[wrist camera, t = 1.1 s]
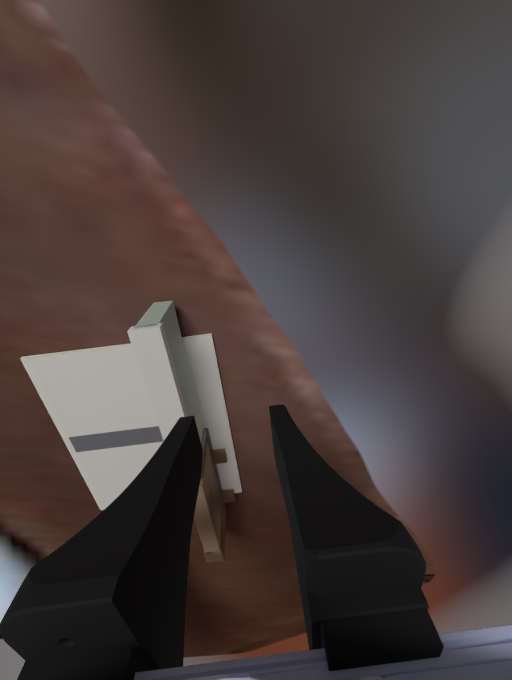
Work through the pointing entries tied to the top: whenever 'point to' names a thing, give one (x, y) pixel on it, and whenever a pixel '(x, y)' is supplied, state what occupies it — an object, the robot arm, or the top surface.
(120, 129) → the top surface
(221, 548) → the brown wooden block
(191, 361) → the card
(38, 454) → the top surface
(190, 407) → the pale green long block
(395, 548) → the robot arm
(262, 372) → the top surface
